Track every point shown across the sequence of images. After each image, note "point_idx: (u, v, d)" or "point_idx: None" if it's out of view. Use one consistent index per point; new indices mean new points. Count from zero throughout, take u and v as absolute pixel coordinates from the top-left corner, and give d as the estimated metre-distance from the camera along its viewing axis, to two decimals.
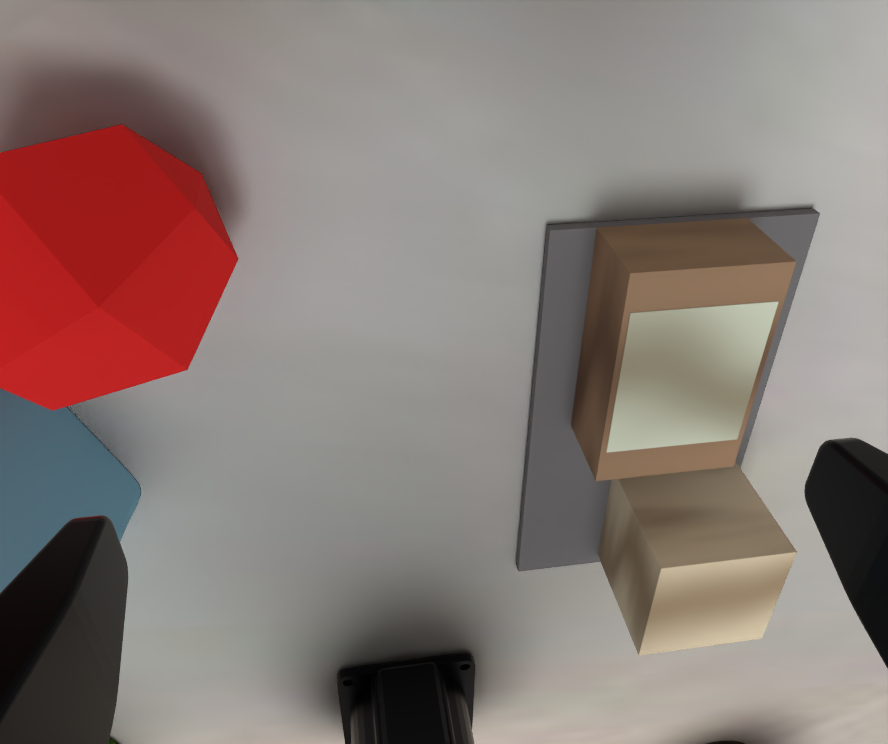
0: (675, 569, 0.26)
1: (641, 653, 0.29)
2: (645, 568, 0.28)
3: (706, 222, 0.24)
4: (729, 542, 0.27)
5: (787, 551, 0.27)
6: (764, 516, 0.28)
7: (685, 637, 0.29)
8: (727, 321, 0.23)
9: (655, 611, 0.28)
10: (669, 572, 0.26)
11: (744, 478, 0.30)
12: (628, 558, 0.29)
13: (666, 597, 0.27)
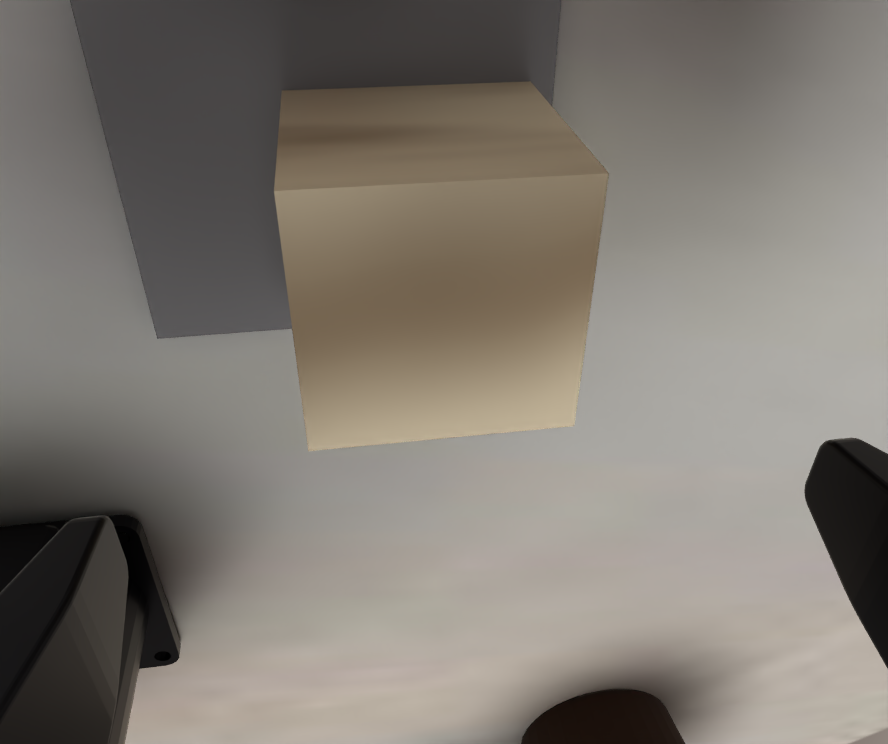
0: (313, 195, 0.11)
1: (311, 447, 0.14)
2: None
3: None
4: (461, 161, 0.12)
5: (587, 173, 0.12)
6: (558, 134, 0.13)
7: (402, 410, 0.14)
8: None
9: (306, 329, 0.12)
10: (299, 205, 0.11)
11: (541, 100, 0.15)
12: None
13: (317, 288, 0.12)
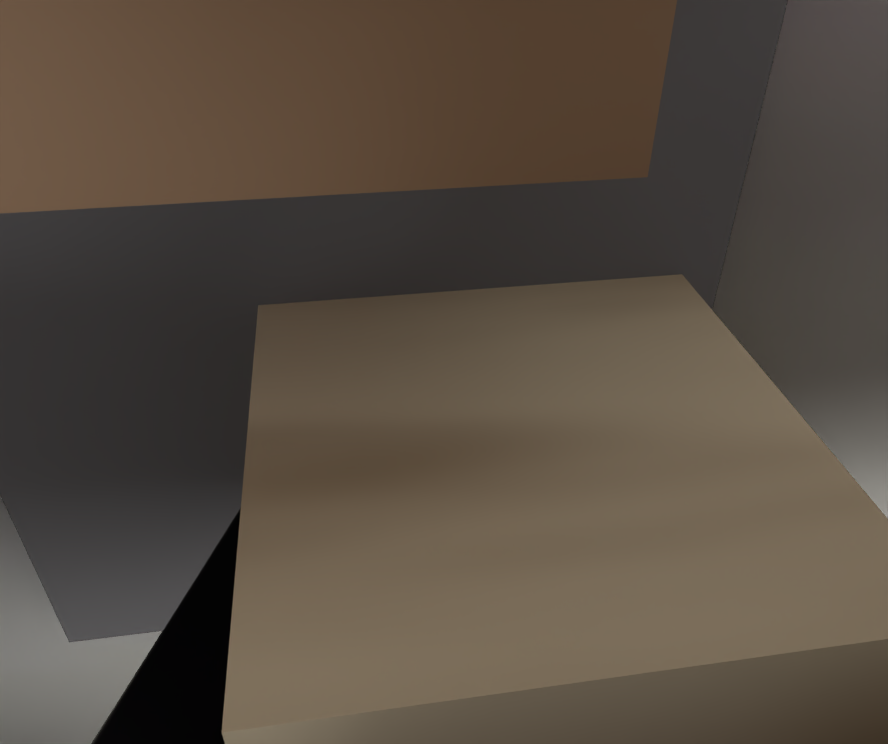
0: (316, 728, 0.05)
1: None
2: None
3: None
4: (637, 572, 0.06)
5: None
6: (800, 457, 0.07)
7: None
8: None
9: None
10: None
11: (720, 330, 0.08)
12: None
13: None
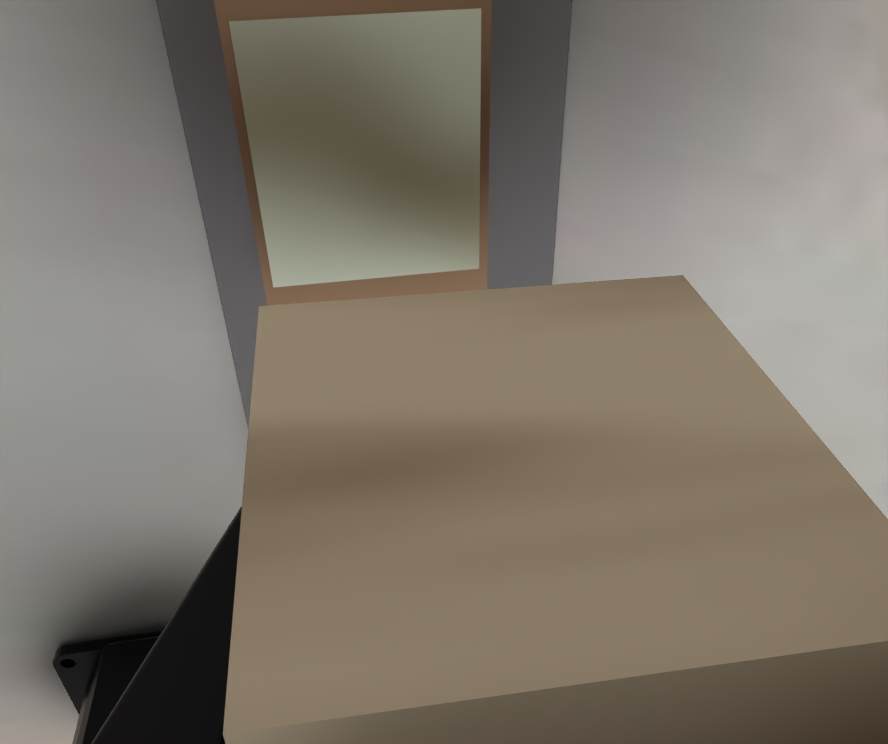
0: (318, 730, 0.05)
1: None
2: None
3: None
4: (637, 573, 0.06)
5: None
6: (801, 458, 0.07)
7: None
8: (405, 46, 0.14)
9: None
10: None
11: (720, 331, 0.08)
12: None
13: None
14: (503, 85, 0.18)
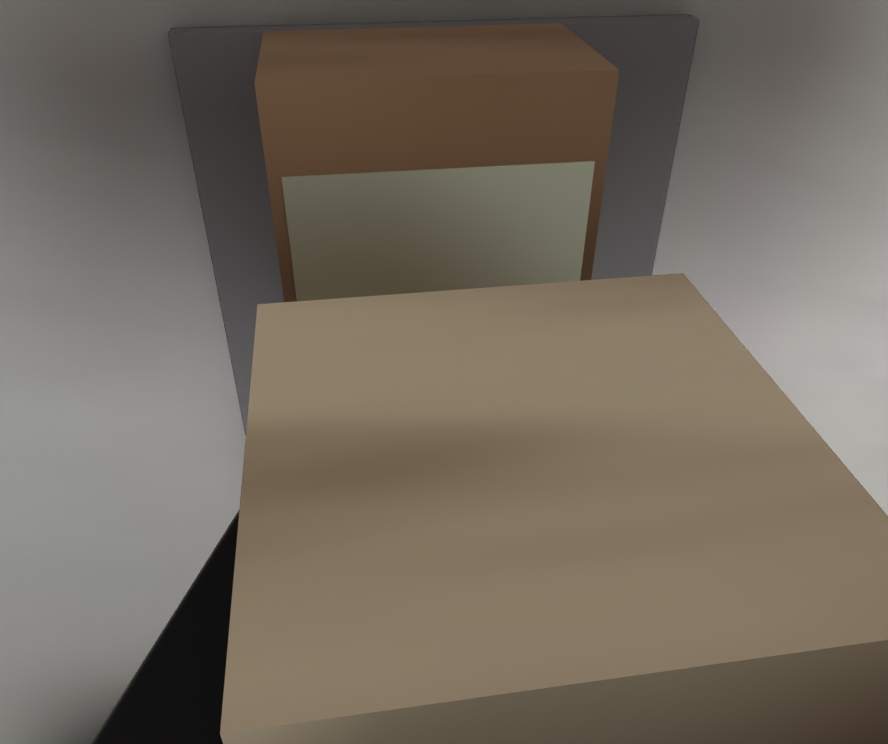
0: (315, 730, 0.05)
1: None
2: None
3: (479, 27, 0.13)
4: (638, 572, 0.06)
5: None
6: (802, 456, 0.06)
7: None
8: (497, 203, 0.12)
9: None
10: None
11: (721, 329, 0.08)
12: None
13: None
14: None
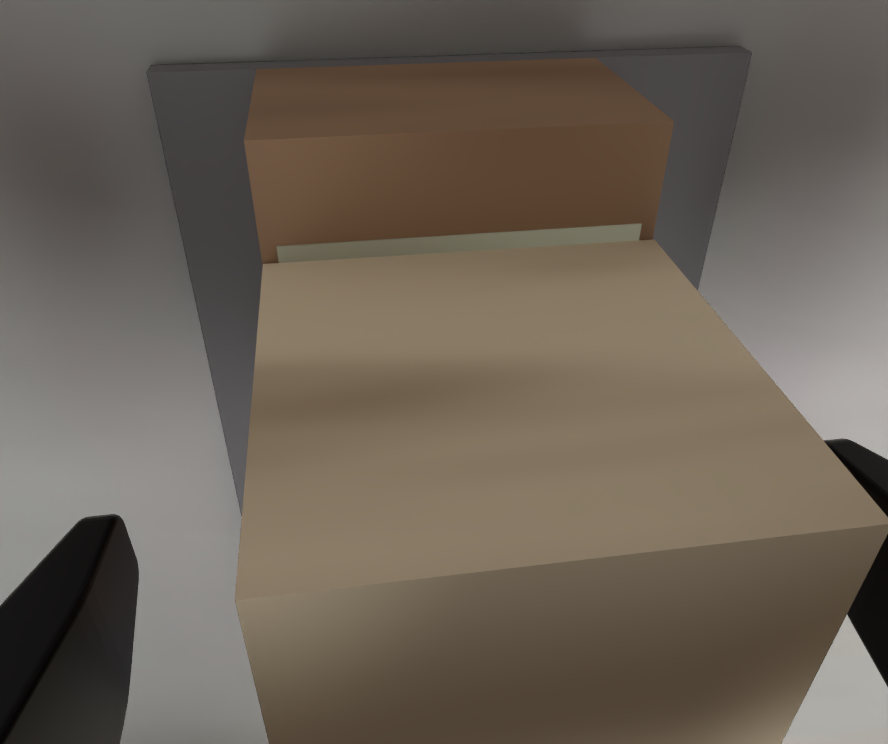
0: (316, 600, 0.05)
1: None
2: None
3: (503, 63, 0.11)
4: (598, 481, 0.06)
5: (849, 522, 0.06)
6: (749, 391, 0.07)
7: None
8: None
9: None
10: (289, 617, 0.05)
11: (685, 287, 0.09)
12: None
13: (323, 719, 0.06)
14: None
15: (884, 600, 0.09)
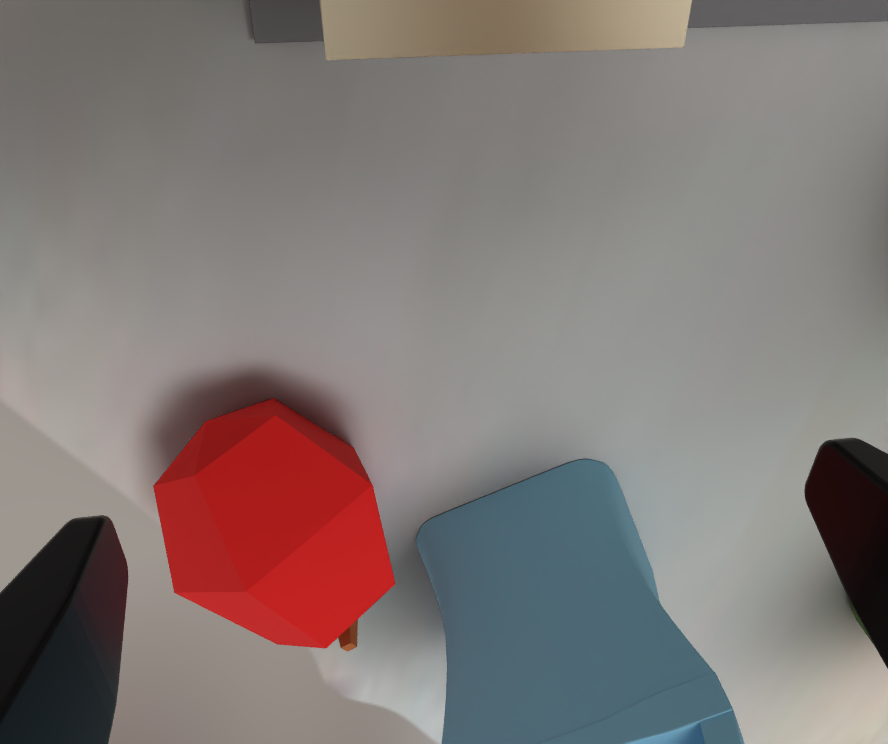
0: (330, 15, 0.10)
1: (679, 42, 0.11)
2: None
3: None
4: None
5: None
6: None
7: None
8: None
9: (503, 36, 0.10)
10: (342, 31, 0.10)
11: None
12: None
13: (448, 18, 0.10)
14: None
15: None
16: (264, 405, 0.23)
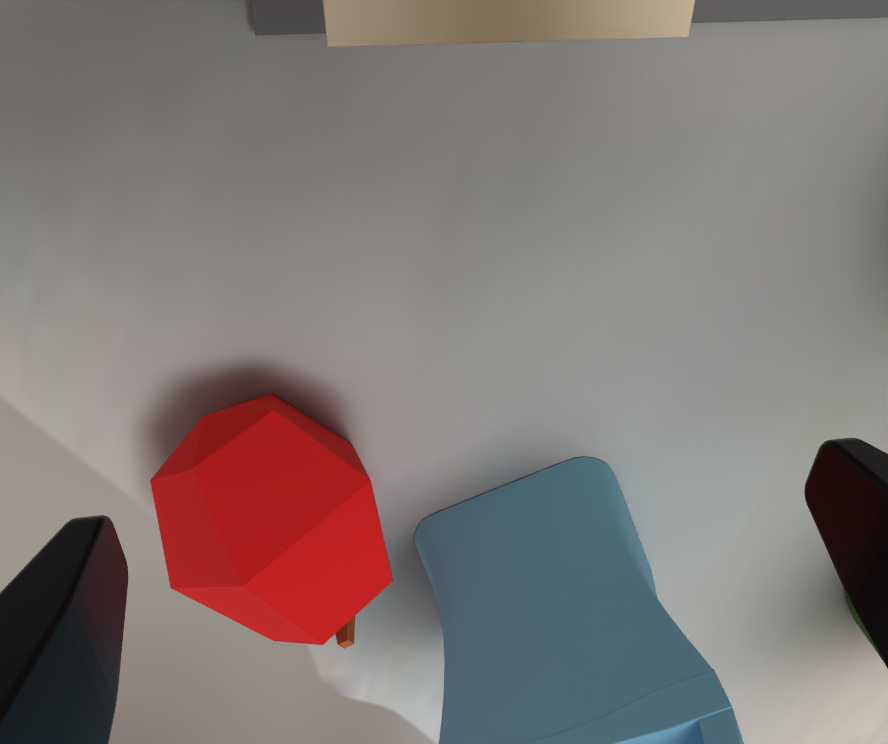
0: (332, 1, 0.10)
1: (684, 31, 0.11)
2: None
3: None
4: None
5: None
6: None
7: None
8: None
9: (506, 23, 0.10)
10: (344, 17, 0.10)
11: None
12: None
13: (452, 5, 0.10)
14: None
15: None
16: (262, 400, 0.23)
